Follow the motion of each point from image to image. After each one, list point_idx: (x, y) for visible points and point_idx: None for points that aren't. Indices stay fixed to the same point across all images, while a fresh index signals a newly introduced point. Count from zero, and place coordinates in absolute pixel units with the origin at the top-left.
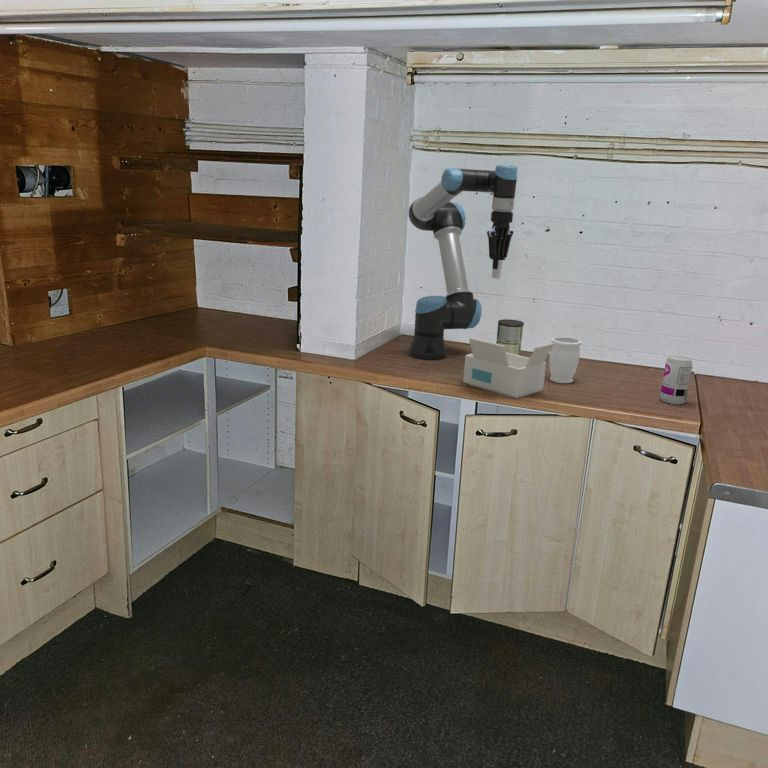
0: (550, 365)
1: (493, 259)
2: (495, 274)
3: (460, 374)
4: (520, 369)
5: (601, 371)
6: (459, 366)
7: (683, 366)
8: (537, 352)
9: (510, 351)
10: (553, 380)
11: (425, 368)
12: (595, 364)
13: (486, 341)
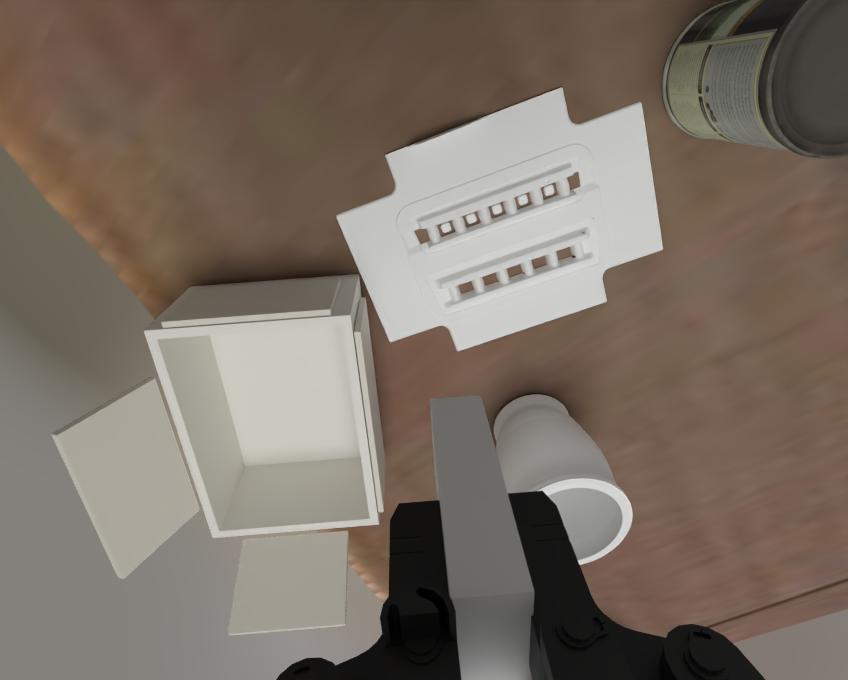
0: (506, 436)
1: (377, 652)
2: (435, 471)
3: (264, 193)
4: (219, 536)
5: (749, 424)
6: (352, 92)
7: None
8: (254, 606)
9: (691, 124)
10: (494, 424)
11: (173, 24)
12: (837, 365)
13: (90, 511)
